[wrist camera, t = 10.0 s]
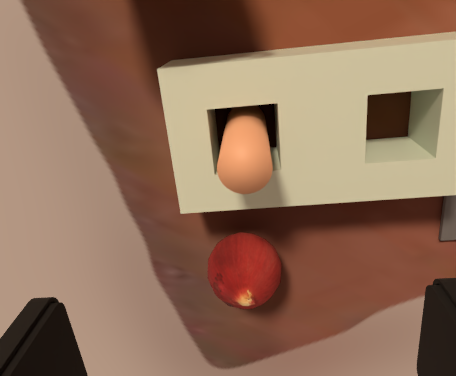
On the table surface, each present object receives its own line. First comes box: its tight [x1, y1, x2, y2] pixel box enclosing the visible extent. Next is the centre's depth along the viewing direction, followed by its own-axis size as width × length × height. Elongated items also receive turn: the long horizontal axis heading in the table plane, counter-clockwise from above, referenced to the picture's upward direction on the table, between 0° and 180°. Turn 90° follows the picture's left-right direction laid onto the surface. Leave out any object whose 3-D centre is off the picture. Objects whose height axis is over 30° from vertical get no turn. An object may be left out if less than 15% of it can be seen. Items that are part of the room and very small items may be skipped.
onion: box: [208, 232, 282, 309], centre depth 31 cm, size 6×6×8 cm
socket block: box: [157, 32, 456, 214], centre depth 28 cm, size 20×10×5 cm, turn 96°
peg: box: [217, 105, 273, 194], centre depth 26 cm, size 3×3×10 cm
